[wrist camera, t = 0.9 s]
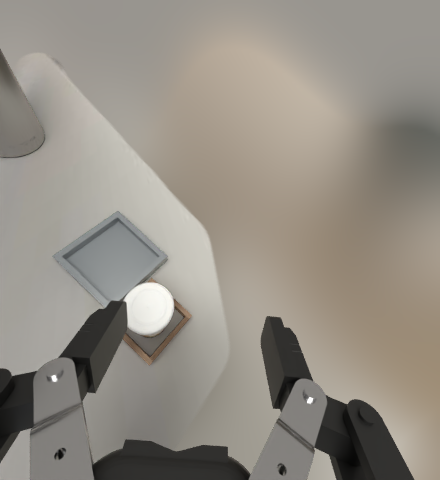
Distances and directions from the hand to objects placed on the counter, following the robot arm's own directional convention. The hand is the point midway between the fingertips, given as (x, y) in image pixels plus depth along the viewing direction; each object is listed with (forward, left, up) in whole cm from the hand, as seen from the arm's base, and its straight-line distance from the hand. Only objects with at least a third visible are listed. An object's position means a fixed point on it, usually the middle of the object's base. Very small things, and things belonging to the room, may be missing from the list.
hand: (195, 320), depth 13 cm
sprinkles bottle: (-3, -1, -21) cm, 22 cm away
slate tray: (-13, +2, -21) cm, 25 cm away
